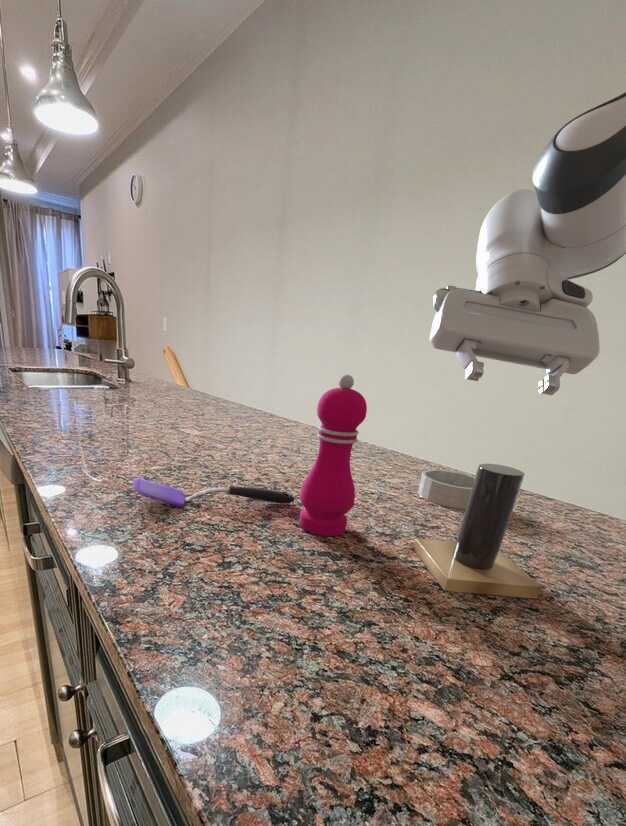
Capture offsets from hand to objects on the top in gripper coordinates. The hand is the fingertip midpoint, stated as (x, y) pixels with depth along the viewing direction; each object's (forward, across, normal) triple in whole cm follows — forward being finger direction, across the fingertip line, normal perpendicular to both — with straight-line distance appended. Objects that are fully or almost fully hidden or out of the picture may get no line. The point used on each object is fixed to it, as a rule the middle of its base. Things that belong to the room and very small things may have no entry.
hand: (511, 384), depth 55 cm
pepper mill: (+19, -19, +12) cm, 30 cm away
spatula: (+17, -34, +16) cm, 42 cm away
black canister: (+22, -2, +3) cm, 23 cm away
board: (+24, -2, +4) cm, 24 cm away
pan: (+6, +4, +24) cm, 25 cm away
